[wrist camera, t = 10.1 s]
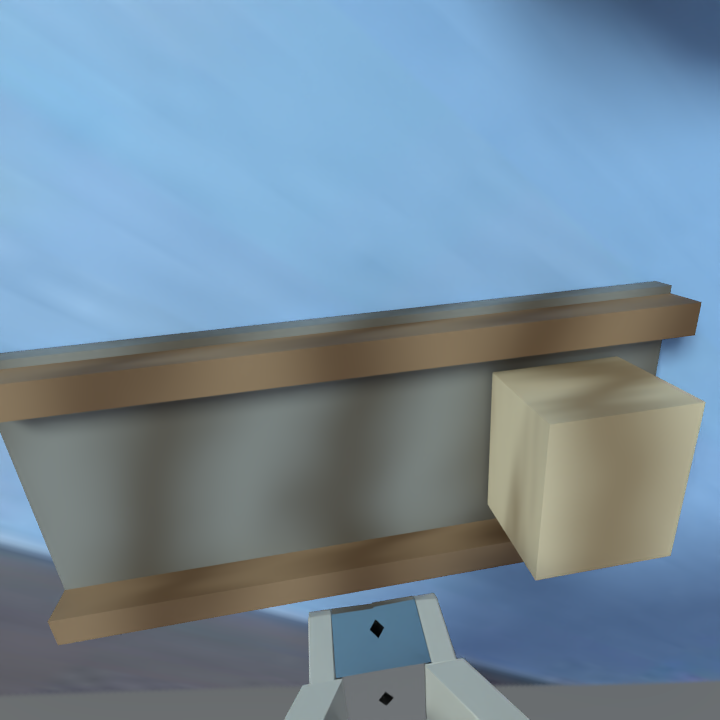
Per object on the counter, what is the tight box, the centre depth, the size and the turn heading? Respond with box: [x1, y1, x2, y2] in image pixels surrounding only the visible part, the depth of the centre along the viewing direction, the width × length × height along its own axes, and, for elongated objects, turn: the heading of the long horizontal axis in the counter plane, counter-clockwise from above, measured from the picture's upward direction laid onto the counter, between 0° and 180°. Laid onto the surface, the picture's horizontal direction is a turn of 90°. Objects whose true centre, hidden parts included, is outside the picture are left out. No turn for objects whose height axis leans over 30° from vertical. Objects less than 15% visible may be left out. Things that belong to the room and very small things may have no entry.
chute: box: [0, 281, 701, 645], centre depth 17 cm, size 24×11×2 cm, turn 94°
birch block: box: [488, 356, 705, 580], centre depth 17 cm, size 5×6×4 cm
